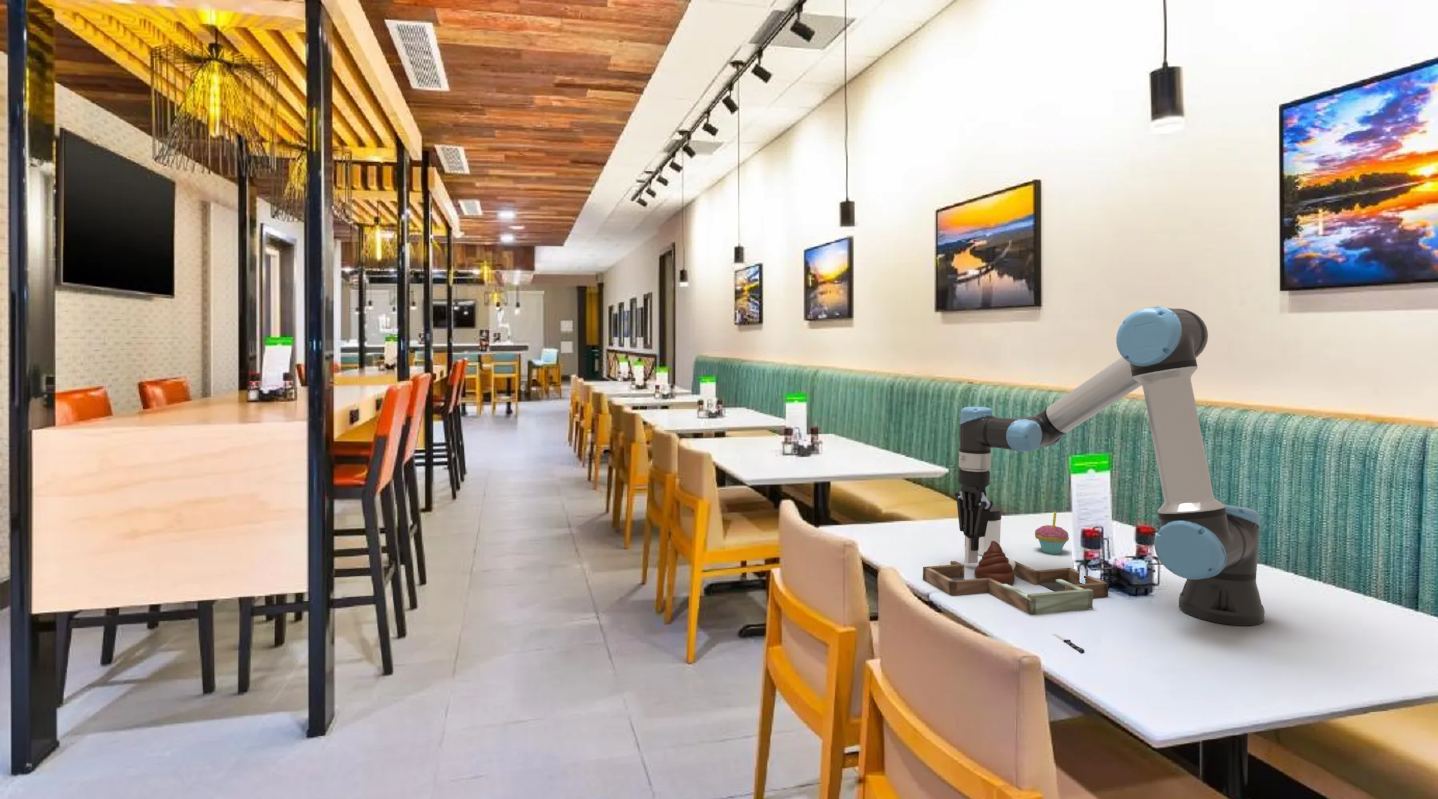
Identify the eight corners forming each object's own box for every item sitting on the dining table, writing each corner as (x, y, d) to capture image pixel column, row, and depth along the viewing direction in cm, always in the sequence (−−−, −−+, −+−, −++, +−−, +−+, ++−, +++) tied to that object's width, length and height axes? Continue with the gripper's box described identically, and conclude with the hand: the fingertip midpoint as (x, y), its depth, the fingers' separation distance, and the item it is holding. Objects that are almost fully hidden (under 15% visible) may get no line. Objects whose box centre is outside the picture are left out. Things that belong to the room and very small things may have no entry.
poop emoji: (966, 575, 189) (967, 537, 188) (996, 572, 192) (997, 535, 191) (992, 588, 180) (993, 548, 179) (1023, 585, 182) (1025, 545, 181)
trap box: (1127, 605, 168) (1128, 587, 168) (991, 618, 159) (992, 599, 159) (1036, 566, 197) (1036, 550, 197) (916, 575, 188) (917, 559, 188)
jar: (1007, 553, 209) (1009, 508, 209) (990, 558, 204) (992, 513, 203) (977, 546, 216) (979, 503, 215) (960, 550, 211) (962, 507, 210)
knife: (1091, 654, 143) (1091, 649, 142) (1080, 656, 142) (1080, 650, 142) (1024, 618, 161) (1024, 613, 161) (1013, 619, 160) (1014, 614, 160)
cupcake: (1073, 556, 207) (1075, 511, 206) (1041, 555, 207) (1043, 511, 206) (1060, 547, 215) (1061, 504, 215) (1029, 547, 216) (1030, 504, 215)
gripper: (946, 465, 199) (943, 556, 201) (976, 474, 186) (973, 570, 188) (972, 464, 201) (969, 554, 203) (1003, 472, 188) (1000, 568, 190)
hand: (971, 562), depth 195 cm, fingers closed
